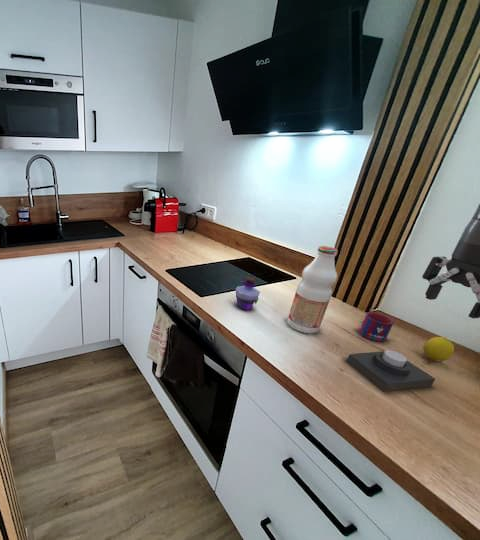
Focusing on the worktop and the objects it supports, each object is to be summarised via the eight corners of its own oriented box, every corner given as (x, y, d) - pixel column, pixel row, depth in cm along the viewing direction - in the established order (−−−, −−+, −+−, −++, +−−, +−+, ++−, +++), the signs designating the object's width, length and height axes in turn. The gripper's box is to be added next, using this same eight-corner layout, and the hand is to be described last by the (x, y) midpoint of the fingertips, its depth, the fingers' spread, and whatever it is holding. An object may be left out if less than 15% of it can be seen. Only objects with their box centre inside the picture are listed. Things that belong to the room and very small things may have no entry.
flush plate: (388, 357, 83) (394, 345, 81) (430, 386, 73) (439, 373, 71) (346, 361, 81) (351, 348, 79) (383, 391, 71) (391, 378, 69)
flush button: (391, 355, 78) (394, 349, 77) (408, 366, 74) (411, 360, 73) (377, 356, 77) (380, 350, 76) (393, 368, 73) (397, 362, 72)
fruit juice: (296, 334, 93) (323, 253, 82) (281, 318, 101) (303, 243, 90) (324, 334, 93) (355, 254, 82) (307, 318, 101) (332, 244, 90)
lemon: (446, 369, 79) (461, 346, 76) (419, 360, 82) (431, 337, 79) (444, 360, 83) (458, 337, 80) (418, 351, 86) (430, 329, 83)
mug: (361, 338, 92) (369, 320, 89) (355, 322, 100) (362, 306, 97) (387, 344, 89) (396, 326, 86) (379, 328, 97) (387, 311, 94)
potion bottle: (259, 314, 103) (266, 284, 99) (234, 311, 105) (240, 282, 100) (253, 302, 111) (259, 274, 106) (230, 300, 112) (235, 272, 108)
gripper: (551, 252, 54) (505, 323, 61) (461, 231, 67) (430, 292, 73) (518, 253, 53) (475, 325, 60) (433, 232, 66) (405, 294, 73)
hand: (450, 307), depth 67 cm, fingers open, 8 cm apart
